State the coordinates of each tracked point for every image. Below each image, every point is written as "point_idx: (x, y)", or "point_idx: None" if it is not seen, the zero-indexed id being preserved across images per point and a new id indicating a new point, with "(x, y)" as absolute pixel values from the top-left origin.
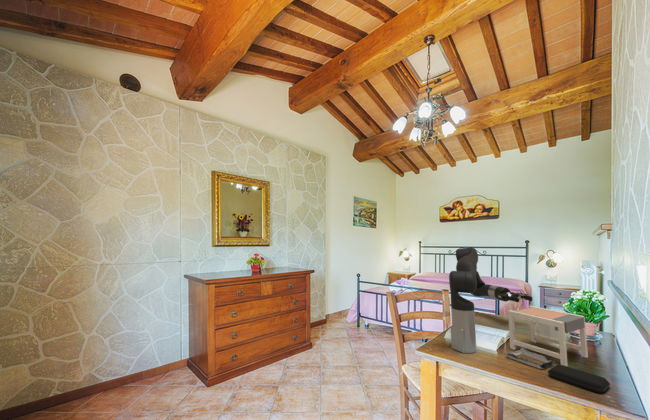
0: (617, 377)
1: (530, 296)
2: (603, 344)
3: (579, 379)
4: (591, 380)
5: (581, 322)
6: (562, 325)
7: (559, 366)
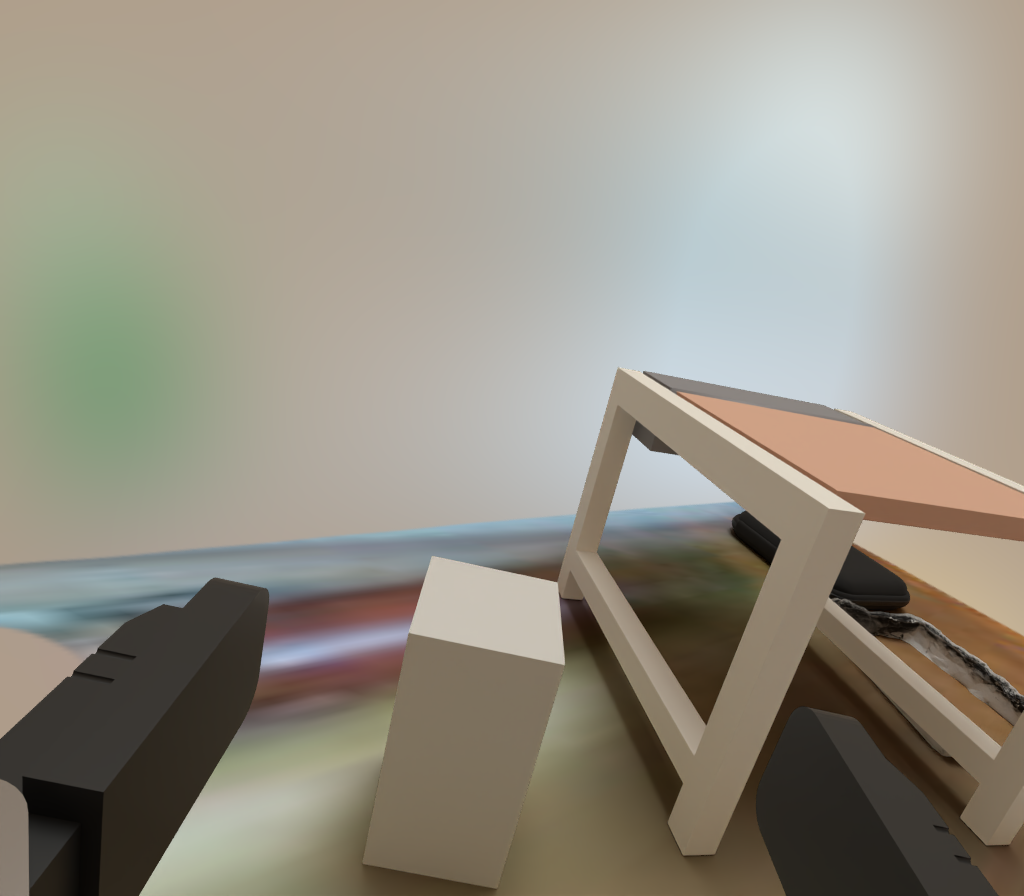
0: (639, 523)
1: (214, 597)
2: (193, 582)
3: None
4: None
5: None
6: None
7: (856, 572)
